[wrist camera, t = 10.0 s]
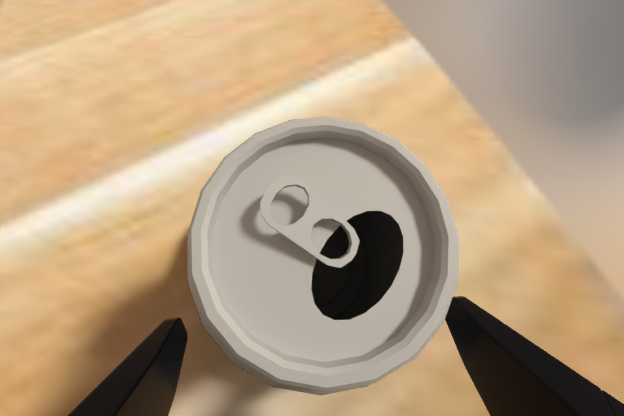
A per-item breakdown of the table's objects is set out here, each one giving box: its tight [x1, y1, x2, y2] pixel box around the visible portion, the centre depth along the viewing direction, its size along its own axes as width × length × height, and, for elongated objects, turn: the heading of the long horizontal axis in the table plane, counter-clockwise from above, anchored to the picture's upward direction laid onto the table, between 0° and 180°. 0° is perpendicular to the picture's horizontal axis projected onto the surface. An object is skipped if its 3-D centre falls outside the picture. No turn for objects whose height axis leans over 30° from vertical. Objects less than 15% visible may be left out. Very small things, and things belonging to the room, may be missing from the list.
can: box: [187, 117, 459, 395], centre depth 11 cm, size 8×8×12 cm
